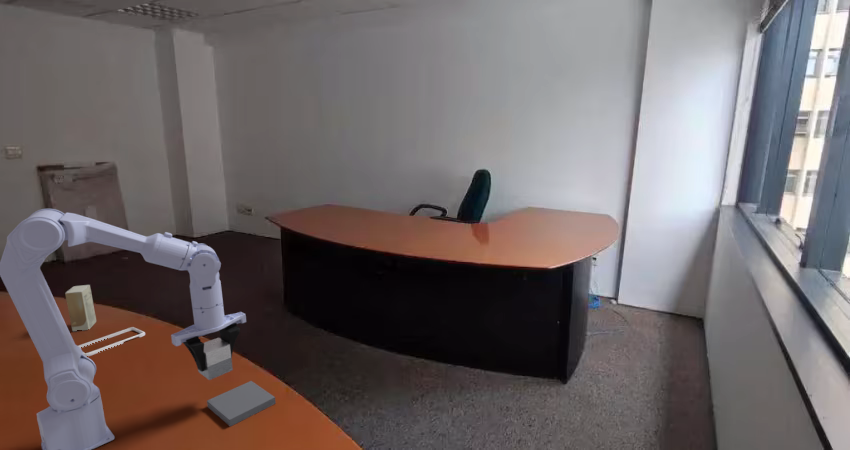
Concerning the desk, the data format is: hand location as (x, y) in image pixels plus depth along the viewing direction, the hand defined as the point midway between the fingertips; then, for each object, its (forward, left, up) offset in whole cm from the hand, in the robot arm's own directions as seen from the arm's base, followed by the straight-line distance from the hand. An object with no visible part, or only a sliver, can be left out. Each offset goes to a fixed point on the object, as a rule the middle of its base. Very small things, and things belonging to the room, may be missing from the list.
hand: (215, 364), depth 95 cm
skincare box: (-8, +69, -9) cm, 70 cm away
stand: (+2, -5, -9) cm, 11 cm away
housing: (0, 0, -2) cm, 2 cm away
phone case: (-7, +51, -10) cm, 52 cm away
